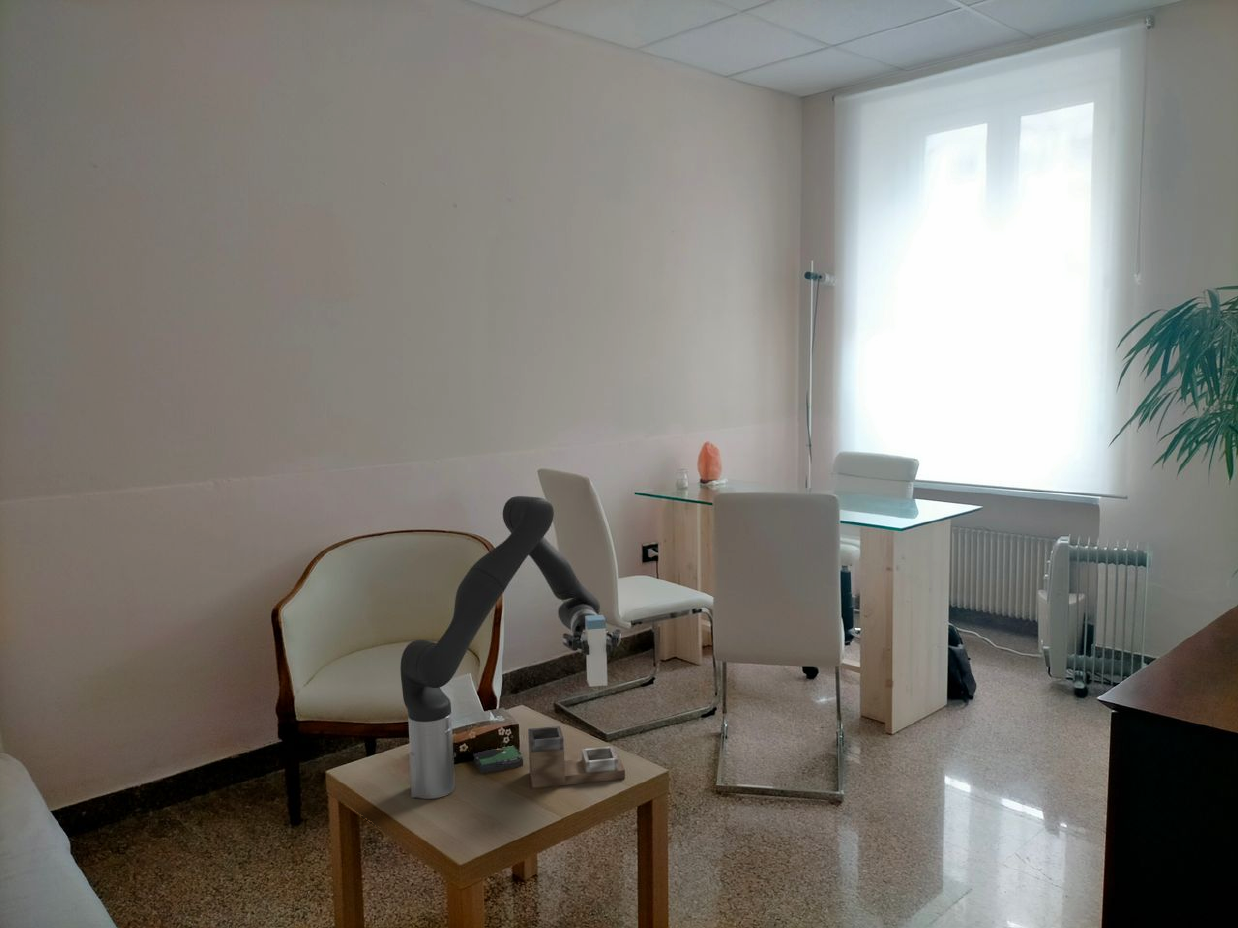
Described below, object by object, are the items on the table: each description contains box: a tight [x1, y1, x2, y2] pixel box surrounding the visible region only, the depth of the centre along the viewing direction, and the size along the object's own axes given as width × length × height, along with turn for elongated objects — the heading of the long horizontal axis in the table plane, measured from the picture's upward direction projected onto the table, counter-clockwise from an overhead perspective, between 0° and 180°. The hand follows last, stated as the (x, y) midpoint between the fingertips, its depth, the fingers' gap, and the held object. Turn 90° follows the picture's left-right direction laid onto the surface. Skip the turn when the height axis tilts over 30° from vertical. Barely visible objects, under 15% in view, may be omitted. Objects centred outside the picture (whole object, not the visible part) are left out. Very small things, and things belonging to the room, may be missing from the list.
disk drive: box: [473, 744, 524, 775], centre depth 221 cm, size 10×3×15 cm
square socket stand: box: [527, 725, 626, 789], centre depth 210 cm, size 21×8×10 cm, turn 100°
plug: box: [585, 614, 608, 688], centre depth 208 cm, size 4×4×15 cm
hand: (598, 649), depth 206 cm, fingers closed on plug, 4 cm apart
